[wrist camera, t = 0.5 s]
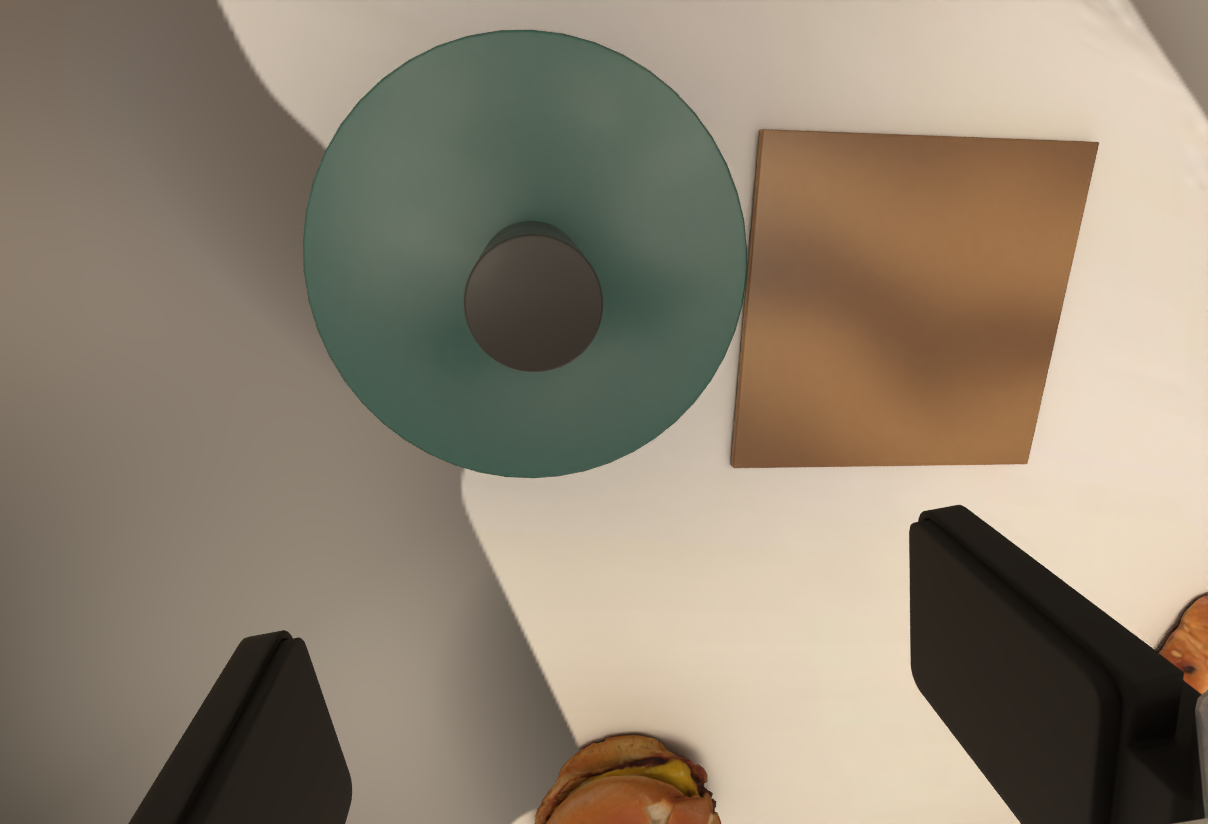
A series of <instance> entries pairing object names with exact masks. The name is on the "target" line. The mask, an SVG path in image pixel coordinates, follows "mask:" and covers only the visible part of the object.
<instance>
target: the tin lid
mask: <svg viewBox="0 0 1208 824" xmlns="http://www.w3.org/2000/svg"><path fill="white" fill-rule="evenodd" d="M303 260H304V276H305V282H306V288H307V294H308V300H309V304H310V307H311V310H312V313H313V317H314V320H315V323H316V327H317V330H318V332H319V334H320V336H321V338H322V341H323V343H324V345H325V348H326V349H327V352H328V354H329V356H330V358H331V360H332V361H333V363H334V365H335V366H336V368H337V369H338V371H339V372H340V374H341V376H342V377H343V379H344V381H345V382H346V383H347V385H348V386H349V387H350V388H351V389H352V391H353V392H354V393H355V395H356V396H357V397H358V398H359V400H360V401H361V402H362V403H363V404H364V405H365V406H366V407H367V408H368V409H369V410H370V411H371V412H372V413H373V414H374V415H375V416H376V417H377V418H378V419H379V420H380V421H381V422H382V423H383V424H385V425H386V426H388V428H390V429H391V430H393V431H394V432H395V433H397V434H398V435H399V436H400V437H402V438H403V439H404V440H406V441H408V442H409V443H411V444H413V445H414V446H416V447H418V448H420V449H421V450H423V451H425V452H427V453H428V454H430V455H432V456H435V457H437V458H439V459H442V460H444V461H446V462H449V463H451V464H453V465H456V466H460V467H463V468H466V469H470V470H473V471H477V472H480V473H486V474H492V475H498V476H504V477H519V478H541V477H554V476H562V475H567V474H572V473H578V472H583V471H587V470H590V469H593V468H596V467H599V466H602V465H605V464H608V463H611V462H613V461H615V460H617V459H619V458H621V457H623V456H626V455H628V454H630V453H632V452H634V451H636V450H637V449H639V448H640V447H642V446H644V445H645V444H647V443H648V442H650V441H652V440H653V439H655V438H656V437H657V436H659V435H660V434H661V433H662V432H664V431H665V430H666V429H667V428H669V427H670V426H671V425H672V424H674V423H675V422H676V421H677V420H678V419H679V418H680V417H681V416H682V415H683V414H684V413H685V412H686V411H687V410H688V409H689V408H690V407H691V405H692V404H693V403H694V402H695V401H696V400H697V398H698V397H699V396H700V394H701V393H702V392H703V390H704V389H705V388H706V386H707V385H708V384H709V382H710V381H711V380H712V378H713V376H714V374H715V373H716V371H717V369H718V367H719V366H720V364H721V362H722V360H723V359H724V357H725V354H726V352H727V350H728V347H729V345H730V342H731V340H732V338H733V335H734V333H735V330H736V326H737V323H738V319H739V315H740V312H741V308H742V304H743V297H744V291H745V284H746V273H747V244H746V235H745V225H744V218H743V214H742V210H741V206H740V201H739V197H738V193H737V190H736V187H735V185H734V182H733V179H732V177H731V174H730V171H729V169H728V166H727V164H726V162H725V160H724V158H723V156H722V154H721V152H720V150H719V149H718V147H717V145H716V143H715V141H714V139H713V137H712V136H711V135H710V133H709V132H708V130H707V129H706V128H705V126H704V125H703V123H702V122H701V121H700V119H699V118H698V116H697V115H696V114H695V112H694V111H693V110H692V109H691V108H690V107H689V106H688V105H687V104H686V103H685V102H684V101H683V100H682V99H681V97H680V96H679V95H678V94H677V93H676V92H675V91H674V90H673V89H672V88H670V87H669V86H668V85H667V84H665V83H664V82H663V81H662V80H660V79H659V78H658V77H657V76H656V75H654V74H653V73H652V72H651V71H649V70H648V69H646V68H644V67H643V66H641V65H639V64H638V63H636V62H634V61H633V60H631V59H630V58H628V57H626V56H625V55H623V54H621V53H618V52H616V51H614V50H611V49H609V48H607V47H604V46H602V45H600V44H597V43H595V42H592V41H588V40H585V39H581V38H577V37H574V36H570V35H566V34H562V33H554V32H546V31H538V30H499V31H493V32H487V33H481V34H475V35H469V36H466V37H463V38H460V39H456V40H453V41H450V42H447V43H444V44H441V45H438V46H436V47H434V48H432V49H430V50H428V51H426V52H424V53H422V54H420V55H418V56H416V57H414V58H412V59H410V60H408V61H407V62H405V63H404V64H403V65H401V66H400V67H398V68H397V69H395V70H394V71H393V72H391V73H390V74H388V75H387V76H385V77H384V78H383V79H382V80H381V81H380V82H378V83H377V84H376V85H375V86H374V87H373V88H372V89H371V90H370V91H369V92H368V93H367V94H366V95H365V96H364V97H363V98H362V99H360V101H359V102H358V103H357V104H356V106H355V107H354V108H353V109H352V111H351V112H350V113H349V115H348V116H347V117H346V118H345V120H344V121H343V122H342V123H341V125H340V127H339V128H338V130H337V132H336V133H335V135H334V137H333V139H332V140H331V142H330V144H329V146H328V147H327V149H326V151H325V153H324V156H323V158H322V160H321V163H320V165H319V168H318V170H317V173H316V175H315V178H314V181H313V184H312V188H311V193H310V197H309V200H308V205H307V209H306V216H305V225H304V235H303Z"/></svg>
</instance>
